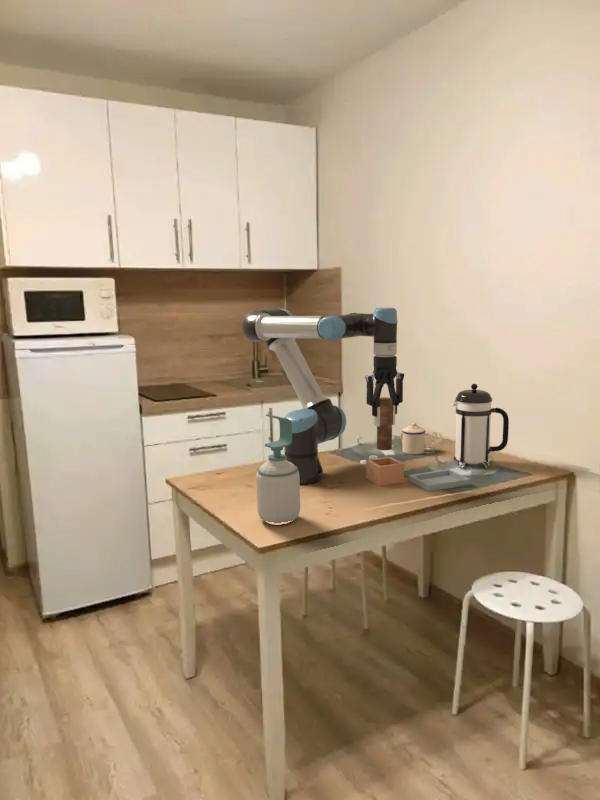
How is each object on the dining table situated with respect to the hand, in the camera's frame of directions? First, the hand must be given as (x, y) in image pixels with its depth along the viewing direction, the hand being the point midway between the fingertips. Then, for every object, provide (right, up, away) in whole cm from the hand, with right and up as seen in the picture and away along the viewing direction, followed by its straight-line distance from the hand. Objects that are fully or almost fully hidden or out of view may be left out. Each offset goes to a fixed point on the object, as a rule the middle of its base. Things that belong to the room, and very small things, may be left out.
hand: (384, 424), depth 204 cm
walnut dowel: (0, -8, +2) cm, 8 cm away
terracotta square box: (+1, -20, +4) cm, 20 cm away
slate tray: (+18, -20, 0) cm, 27 cm away
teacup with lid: (+16, -12, +40) cm, 45 cm away
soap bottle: (-34, -27, -27) cm, 51 cm away
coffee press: (+36, -15, +21) cm, 45 cm away
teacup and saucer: (-1, -16, +25) cm, 30 cm away
